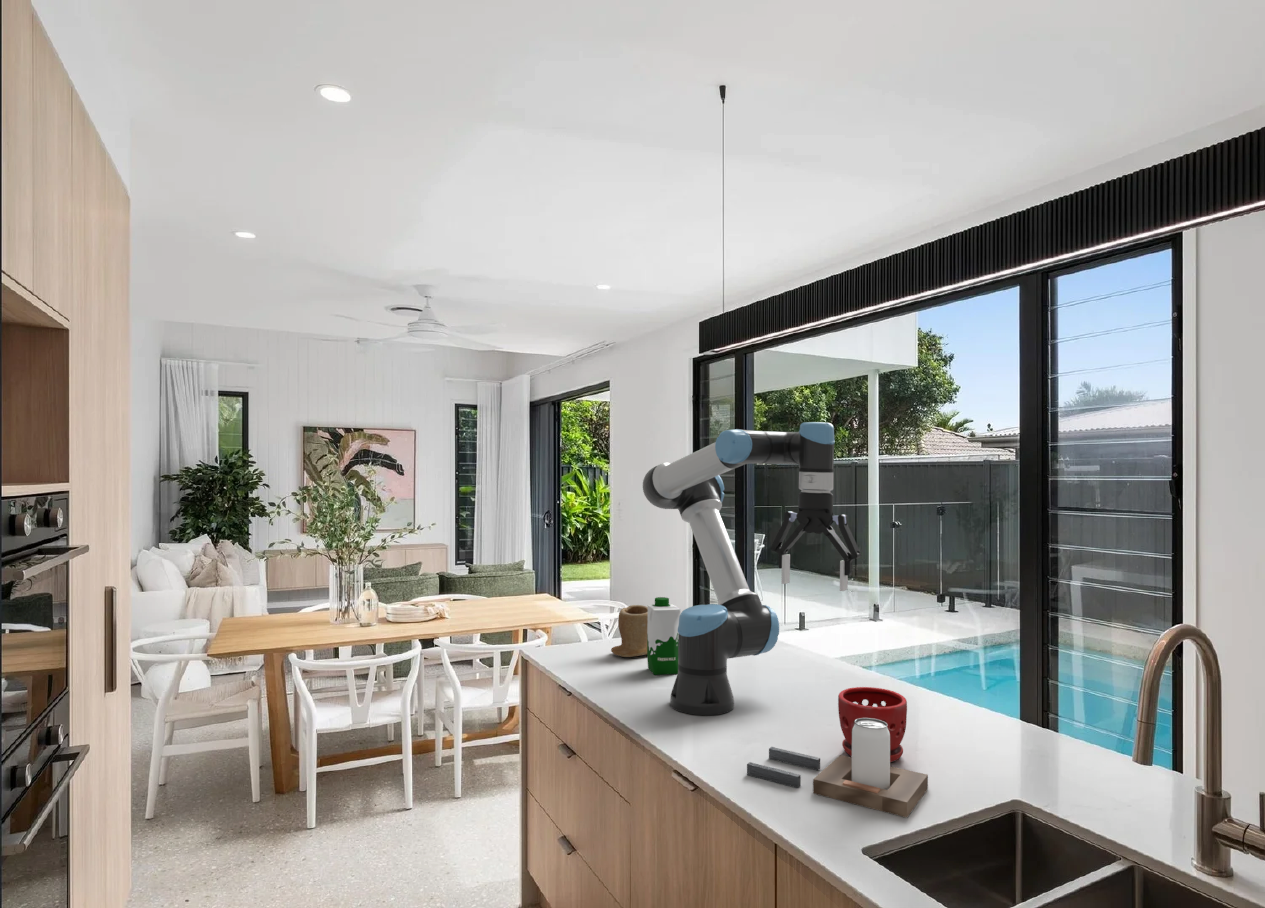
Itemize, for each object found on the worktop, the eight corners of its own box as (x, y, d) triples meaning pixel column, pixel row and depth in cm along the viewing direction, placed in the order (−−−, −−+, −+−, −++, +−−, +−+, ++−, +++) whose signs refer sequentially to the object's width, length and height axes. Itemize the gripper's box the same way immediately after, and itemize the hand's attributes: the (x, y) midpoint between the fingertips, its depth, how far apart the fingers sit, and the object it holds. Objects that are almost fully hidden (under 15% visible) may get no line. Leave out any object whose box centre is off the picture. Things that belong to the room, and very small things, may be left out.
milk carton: (673, 666, 219) (674, 596, 220) (683, 674, 211) (683, 601, 211) (644, 667, 217) (644, 597, 218) (652, 676, 209) (653, 602, 209)
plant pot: (831, 743, 159) (831, 685, 159) (894, 744, 159) (895, 686, 159) (846, 767, 146) (847, 704, 146) (916, 769, 146) (916, 706, 146)
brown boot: (625, 662, 223) (626, 611, 223) (606, 653, 233) (607, 604, 234) (669, 656, 231) (669, 607, 231) (648, 648, 241) (649, 600, 241)
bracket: (746, 774, 142) (746, 763, 142) (771, 756, 151) (771, 746, 151) (798, 788, 136) (798, 776, 136) (820, 768, 145) (820, 757, 145)
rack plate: (813, 793, 134) (813, 777, 134) (840, 767, 146) (840, 753, 146) (906, 817, 125) (907, 800, 125) (927, 788, 137) (927, 772, 137)
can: (891, 800, 132) (892, 730, 132) (852, 796, 133) (853, 727, 133) (887, 785, 138) (887, 718, 138) (850, 781, 139) (850, 715, 140)
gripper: (757, 489, 175) (755, 582, 175) (865, 494, 160) (863, 595, 160) (771, 488, 181) (769, 578, 181) (877, 493, 166) (875, 591, 166)
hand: (813, 586), depth 171 cm, fingers open, 13 cm apart
